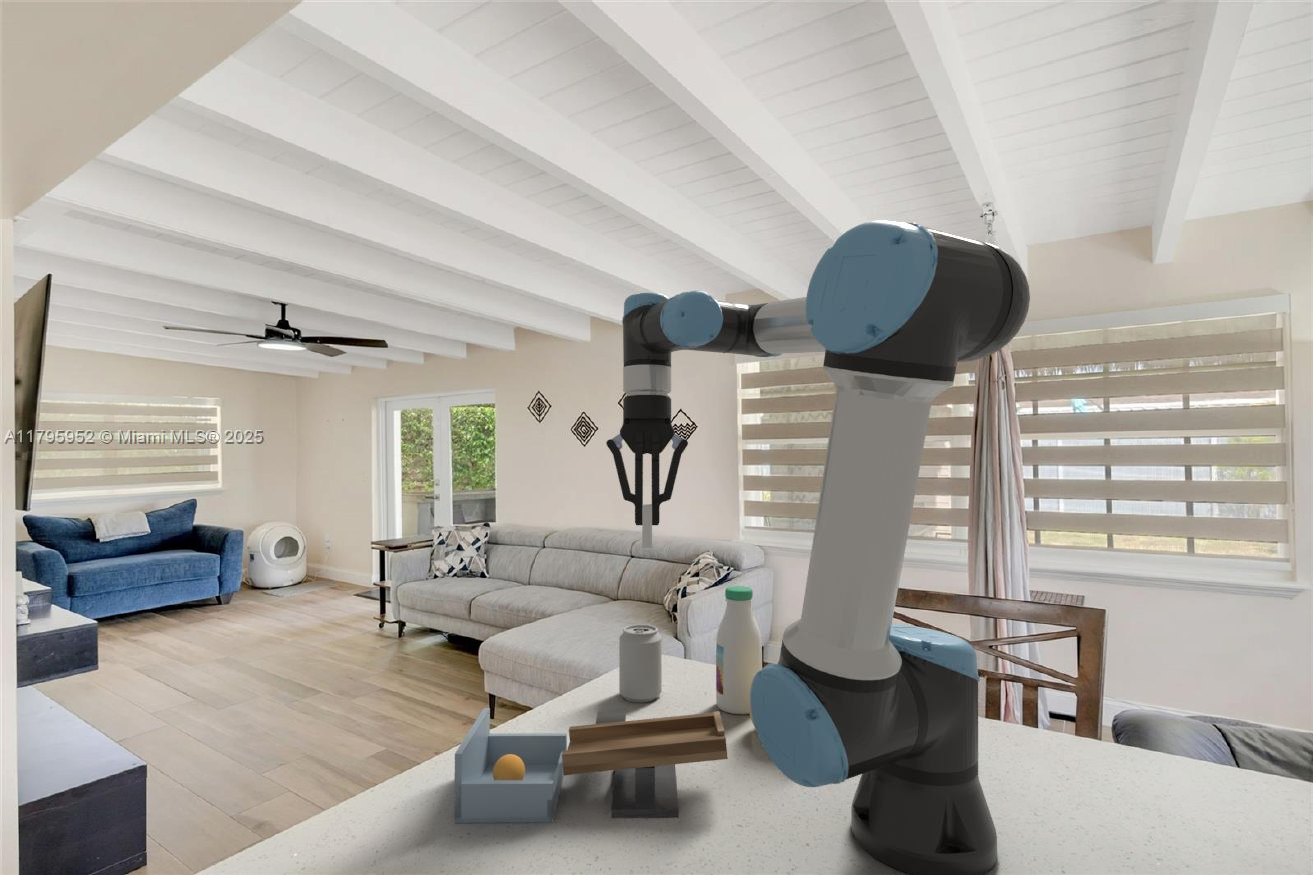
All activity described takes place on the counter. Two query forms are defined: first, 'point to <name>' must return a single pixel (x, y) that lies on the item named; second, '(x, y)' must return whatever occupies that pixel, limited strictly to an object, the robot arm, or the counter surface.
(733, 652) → the milk bottle
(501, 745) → the box
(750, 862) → the counter surface
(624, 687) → the can
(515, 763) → the ball
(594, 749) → the seesaw chute
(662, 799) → the pivot stand
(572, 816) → the counter surface
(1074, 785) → the counter surface
